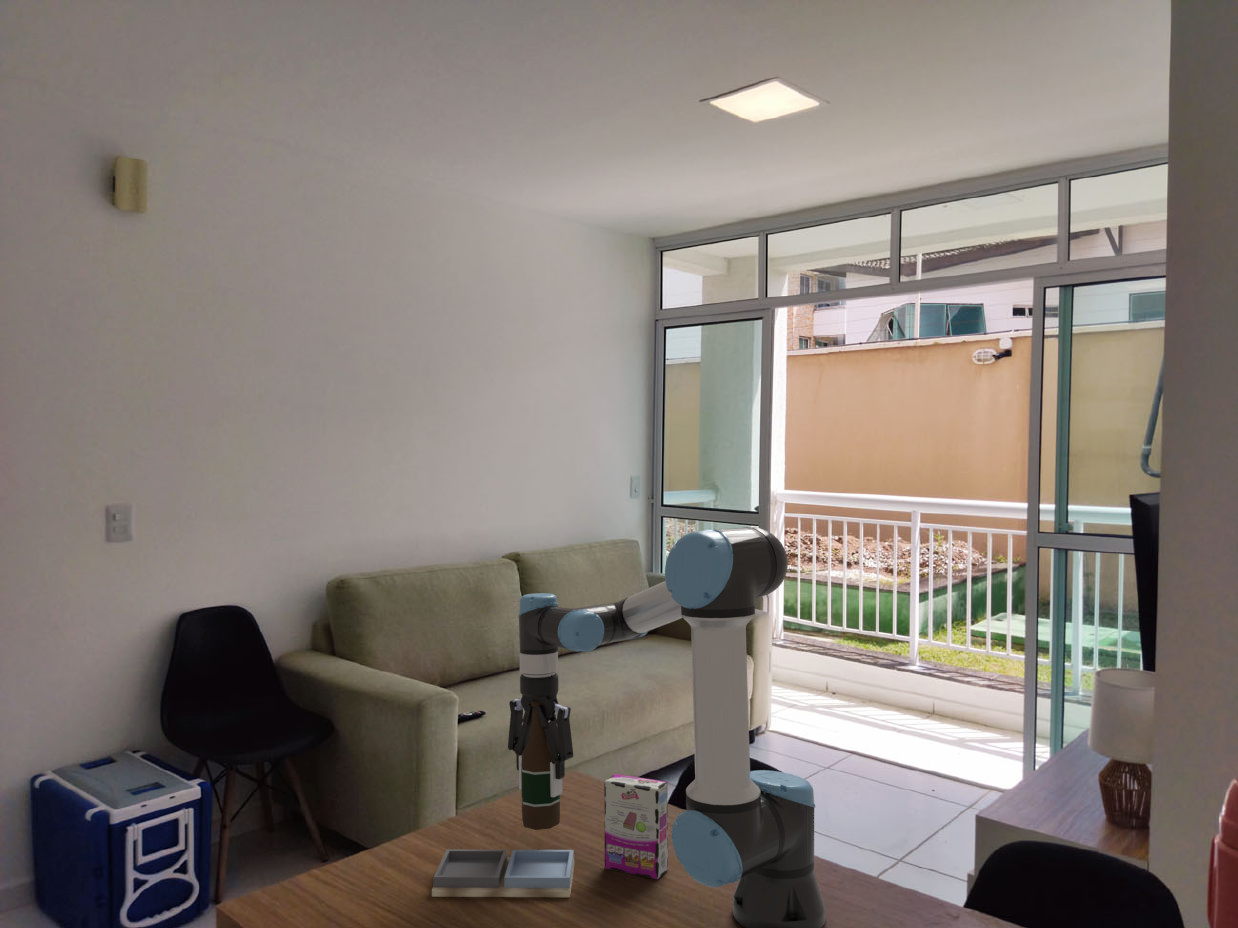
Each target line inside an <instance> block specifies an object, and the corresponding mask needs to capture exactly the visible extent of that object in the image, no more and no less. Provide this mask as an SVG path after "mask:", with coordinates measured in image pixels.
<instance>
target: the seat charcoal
mask: <svg viewBox="0 0 1238 928" xmlns="http://www.w3.org/2000/svg"><path fill="white" fill-rule="evenodd" d="M507 857H508V849H468V848H467V849H462V848H461V849H458V848H457V849H453V848H452V849H451V848H449V849H448V848H447V849H445V852H444V854H443V856H442V858H441V861H440V862H439V864H438V866H437V868H436V871H435V872H434V874H433V881H432V883H433V884H432V885H433V887H432V888H499V885H500V882H501V878H502V875H503V872H504V869H505V865H506V862H507Z"/></svg>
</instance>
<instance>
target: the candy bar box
mask: <svg viewBox="0 0 1238 928" xmlns="http://www.w3.org/2000/svg"><path fill="white" fill-rule="evenodd" d="M603 783H604V784H603V785H604V787H603V788H604V790H603V791H604V792H603V793H604V868H605V869H607V870H611V871H616V872H621V873H624V874H629V875H635V876H638V877H639V876H640V877H644V878H649V879H654V880H659V879H660V878H661V877H662V876H663V875H664V874H666V872H667V871H668V869H669V856H668V855H669V854H668V853H669V851H668V849H669V846H668V845H669V841H668V837H669V835H668V834H669V833H668V832H669V831H668V830H669V829H668V824H669V823H668V817H669V816H668V805H669V803H668V798H669V797H668V781H664V780H658V779H652V778H646V777H645V778H644V777H639V776H631V775H624V774H618V773H614V774H613V775H611V776H610V777H609V778H607V779H605V780H604V782H603Z"/></svg>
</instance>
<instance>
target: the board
mask: <svg viewBox="0 0 1238 928" xmlns="http://www.w3.org/2000/svg"><path fill="white" fill-rule="evenodd" d="M510 857H511V856H510ZM510 857H509V856H507V862H506V865H505V869H504V872H503V875H502V878H501V882H500V885H499V888H433V887H432V889H431V897H432V898H433V897H435V898H436V897H439V898H442V897H444V898H446V897H447V898H450V897H451V898H455V897H456V898H463V897H465V898H571V893H572V892H571V891H572V885H573V877H574V870H575V869H574V868H575V859H574V860H573V867H572V875H571V882H570V888H504V877H505V874H506V870H507V867H508V864H509V860H510Z"/></svg>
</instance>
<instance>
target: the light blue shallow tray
mask: <svg viewBox="0 0 1238 928" xmlns="http://www.w3.org/2000/svg"><path fill="white" fill-rule="evenodd" d="M573 860H574V861H575V856H574V849H512V851H511V855H510V860H509V864H508V867H507V870H506V874H505V877H504V888H570V882H571V875H572V867H573Z"/></svg>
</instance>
